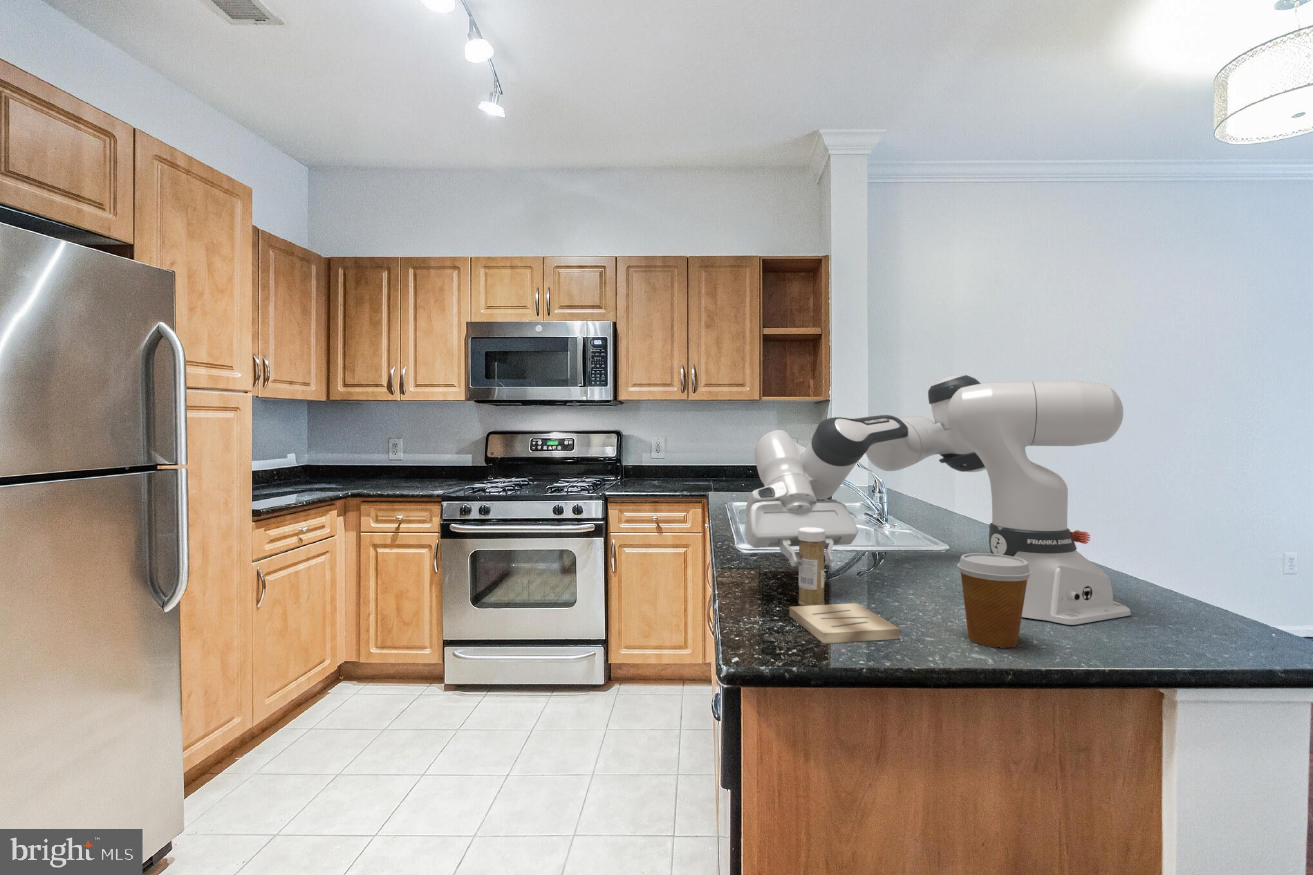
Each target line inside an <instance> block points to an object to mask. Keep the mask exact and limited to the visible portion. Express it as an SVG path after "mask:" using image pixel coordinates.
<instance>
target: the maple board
mask: <svg viewBox="0 0 1313 875" xmlns="http://www.w3.org/2000/svg"><path fill="white" fill-rule="evenodd" d="M788 613H789V614H788V615H789V617H791V619H793V620H794V621H795V622H796V623H797V624H799V625H800V626H801V627H803V629H806V631H807V632H809V633H810V634H811V635H813V636H814V637H815V638H816V639H817V640H819V642H821V643H822V644H838V643H839V644H840V643H853V642H869V641H870V642H871V641H884V640H898V639H899V640H900V639H901V629H900V627H898V626H896V625H894V624H893V623H892V622H889V621H888V620H886V619H884V618H883V617H881V616H879V615H878V614H876V613H875V612H873V611H871V610H869V609H867V607H865V606H863V605H861V604H859V603H857V602H856V603H855V602H853V603H838V604H837V603H836V604H824V605H813V606H801V605H799V606H795V605H794V606H789V612H788Z"/></svg>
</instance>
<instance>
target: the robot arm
mask: <svg viewBox="0 0 1313 875" xmlns="http://www.w3.org/2000/svg"><path fill="white" fill-rule="evenodd" d="M927 395H928V396H927V397H928V404H929V405H930V406H931V412H932V416H933V420H934V421H933V420H932V419H931V418H929V417H926V416H921V415H912V416H911V415H909V416H908V415H907V416H903V417H896V416H894V415H889V414H881V415H872V416H864V417H855V418H848V417H847V418H846V417H841V416H840V417H839V416H837V417H836V416H835V417H830V418H825V419H823V420H822V421H820V423H818V425H817V426H816V429H815V431H814V433H813V435H812V438H811V439H810V441H809V443H808V444H807V446H806V447H805V446H802V445H800V444H799V443H797V442H796V441H794V439H793V438H791V436H790V434H789V433H788V432H787V431H785V430H782V429H775V430H771V431H769V432H767V433H765V434H764V435H763V436H761V438H760V439H759V440H758V442H757V443H756V445H755V447H754V459H755V464H756V469H757V472H758V473H757V474H758V476H759V478H760V481H761V482H762V484H763V487H760V488H757V489H754V490H753V491H751V493H750V495H749V498H748V499H747V502H746V506H745V509H744V510H745V511H744V514H745V516H746V519H745V523H744V527H745V535H746V540H747V543H748V545H750V546H751V547H752V548H755V549H760V548H765V549H766V548H779V551H780V552H781V553H782V554H783V555H784V556H785V557H786V558H787V559H789V563H790V566H791V567H799V566H801V564H802V558H801V555H800V553H799V552H796V551H794V549H792V547H793V548H794V547H799V539H798V530H799V529H800V528H805V527H814V528H821V529H824V530H825V540H824V566H830V565H832V564H833V562H834V557H833V555H832V551H833V546H842V545H844V546H845V545H847V546H848V545H851V544H852V543H853V542H854V541H855V539H856V538H857V537H858V533H859V529H858V527H857V525H856V523H855V520H854V519H853V517H852V516H851V514H850V512H849V511H848V507H847V506H846V504H845V503H843V502H840V501H838V500H837V499H833V498H831V497H833V495H835V493H836V492H837V491H838V490H839V488H840V487H841V485H843V483H844V481H845V480H846V478H847V477H848V476H849V475H850V473H851V472H852V470H853V468H854V467H855V466H856V464H857V463H858V462H859V461H860V460H861V459H862V458H863V457H864V455H866V457H867V459H868V460H869V462H870V463H871V464H872V465H873V466H874V467H877V468H878V469H880V470H881V471H885V472H895V471H901V470H903V469H906V468H908V467H911V466H914V465H915V464H918V463H920V462H921V461H923V460H924V459H927V458H928V457H931V456H934V455H939V456H940V457H941V458H940V459H938V462H940V464H946V465H947V466H948V467H950V469H953V470H955V471H958V472H961V473H965V472H966V473H977V472H982V471H985V470H986V473H987V475H988V478H989V484H990V491H991V509H992V513H991V514H992V515H991V517H992V518H991V519H992V520H991V523H989V527H988V528H989V530H988V544H989V550H990V551H989V552H990V554H999V555H1006V556H1012V557H1016V558H1020V559H1023V560H1025V561H1027V562H1028V566H1029V570H1031V571H1032V572H1031V575H1029V579H1028V580H1027V586H1026V592H1025V598H1024V605H1023V611H1022V618H1028V619H1034V620H1040V621H1041V620H1042V621H1048V622H1052V623H1058V624H1062V625H1067V626H1070V625H1071V626H1073V625H1074V626H1075V625H1082V624H1087V623H1092V622H1094V623H1095V622H1097V621H1105V620H1110V619H1116V618H1122V617H1128V616H1131V614H1132V613H1131V609H1130V608H1129V607H1128V606H1126V605H1125V604H1123V603H1120V602H1118V601H1115V600H1114V596H1113V587H1112V586H1113V585H1112V583H1111V579H1110V577H1109V576H1108V574H1107V573H1105V571H1103V570H1102V569H1101V568H1099V567H1097V566H1096V565H1095V564H1094V563H1092V562H1091V561H1090V560H1089V559H1088V558H1086V557H1085V556H1083V555H1082V554H1081V553H1080V552H1079V551H1078V550H1077V549H1078V548H1077V546H1076V543H1080V544H1084V545H1086V544H1088V543H1089V542H1091V535H1090V533H1089V532H1088V531H1080V530H1079V529H1078V530H1077V529H1076V530H1074V531H1071V530H1070V529H1069V528H1068V506H1069V505H1068V504H1069V502H1068V499H1069V498H1068V497H1069V496H1068V493H1069V490H1068V485H1067V483H1066V482H1065V480H1064V479H1063V477H1061V476H1060V475H1059V474H1058V473H1056V472H1055V471H1052V470H1051V469H1049V468H1047V467H1045V466H1042V465H1040V464H1038V463H1035V462H1033V461H1031V460H1030V459H1029V457H1028V456H1027V452H1026V448H1027V447H1033V446H1034V447H1077V446H1084V445H1092V444H1098V443H1103V442H1108V441H1109V440H1110V439H1111V438H1112V437H1113V436H1114V435H1115V434H1116V433H1117V432H1118V431H1119V429H1120V427H1121V425H1122V423H1123V419H1124V406H1123V402H1122V400H1121V398H1120V396H1119V395H1118V393H1117V392H1116V390H1114V389H1113V388H1112V387H1111V386H1109V385H1108V384H1105V383H1104V384H1103V383H1096V382H1091V381H1090V382H1089V381H1083V380H1082V381H1081V380H1040V381H1039V380H1033V381H1030V380H1029V381H1026V380H1025V381H994V382H993V381H988V382H983V383H981V382H980V381H979V380H978V379H976V378H975V377H972V376H969V375H967V374H965V375H963V374H953V375H948V376H945V377H943V378H941V379H939V380H937V381H936V382H934V384H933V385H931V386H930V387H929V389H928V391H927ZM830 498H831V499H830ZM1075 542H1076V543H1075Z"/></svg>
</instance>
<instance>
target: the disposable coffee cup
mask: <svg viewBox="0 0 1313 875" xmlns="http://www.w3.org/2000/svg"><path fill="white" fill-rule="evenodd" d="M956 566H957V568H958V570H959V572H960V578H961V584H962V594H963V602H964V610H965V618H966V625H967V626H966V628H967V636H968V639H969V640H971V641H972V642H974V643H976V644H978V643H979V645H981V644H982V645H983V646H985V645H986V647H989V648H997V647H1000V648H999V649H1008V648H1009V647H1011V648H1014V647H1017V646H1018V643H1019V642H1018V641H1019V635H1020V634H1019V633H1020V629H1021V628H1020V627H1021V623H1022V618H1023V617H1022V611H1023V605H1024V598H1025V592H1026V586H1027V580H1028V579H1029V575H1031V572H1032V571H1031V570H1029V566H1028V562H1027V561H1025V560H1023V559H1020V558H1016V557H1012V556H1006V555H999V554H991V553H987V552H986V553H984V552H983V553H982V552H979V553H978V552H973V553H972V552H971V553H965V554H961V556H960V559H959V562H958V563H957V565H956ZM1016 645H1017V646H1016ZM1006 647H1007V648H1006ZM1009 649H1010V648H1009Z"/></svg>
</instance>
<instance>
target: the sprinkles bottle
mask: <svg viewBox="0 0 1313 875" xmlns="http://www.w3.org/2000/svg"><path fill="white" fill-rule="evenodd" d="M798 539H799V546H798V553H800V555H801V558H802V564H801V566H798V602H797V604H799V606H813V605H826V604H825V593H824V592H825V565H824V552H825V549H824V540H825V530H824V529H821V528H814V527H805V528H800V529H799V530H798Z"/></svg>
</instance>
